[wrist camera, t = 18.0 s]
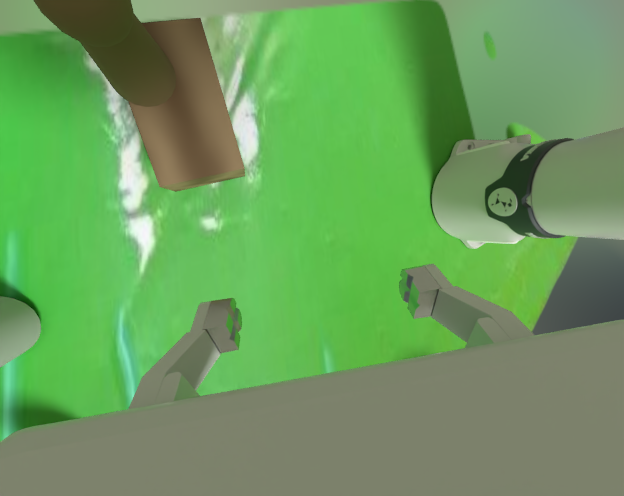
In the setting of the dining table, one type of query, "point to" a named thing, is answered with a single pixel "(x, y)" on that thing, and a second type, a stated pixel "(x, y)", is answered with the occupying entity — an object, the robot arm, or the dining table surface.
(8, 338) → the can
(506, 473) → the robot arm
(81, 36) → the cork
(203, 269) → the dining table surface
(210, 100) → the walnut block
